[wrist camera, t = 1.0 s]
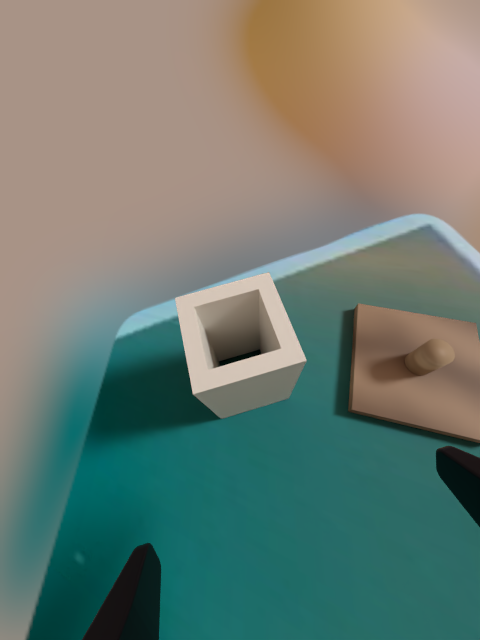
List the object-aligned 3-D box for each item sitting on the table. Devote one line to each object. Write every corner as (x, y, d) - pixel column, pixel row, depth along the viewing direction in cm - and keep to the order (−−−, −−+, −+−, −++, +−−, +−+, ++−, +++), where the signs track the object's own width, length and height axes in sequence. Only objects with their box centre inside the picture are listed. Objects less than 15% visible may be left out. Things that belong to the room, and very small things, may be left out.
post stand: (486, 444, 19) (536, 442, 16) (348, 411, 21) (365, 402, 18) (468, 328, 24) (504, 306, 20) (354, 308, 25) (369, 285, 22)
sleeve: (288, 398, 22) (306, 360, 13) (221, 419, 22) (192, 394, 13) (266, 337, 25) (269, 272, 16) (206, 354, 24) (175, 297, 16)
